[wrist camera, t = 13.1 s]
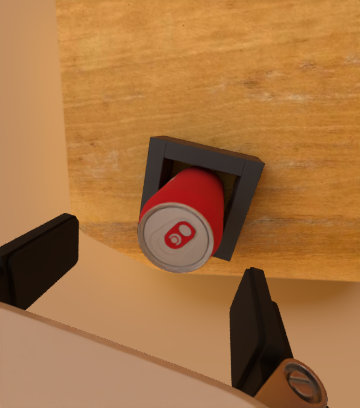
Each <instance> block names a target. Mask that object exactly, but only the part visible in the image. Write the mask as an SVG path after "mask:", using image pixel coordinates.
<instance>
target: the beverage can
mask: <svg viewBox="0 0 360 408" xmlns="http://www.w3.org/2000/svg"><path fill="white" fill-rule="evenodd" d="M223 213H224V186H223V183H222V181H221V179H220V177H219V176H218V175H217V174H216V173H215V172H214V171H212V170H211V169H208V168H204V167H200V166H190V167H187V168H185V169H183V170H182V171H180V172H179V173H178V174H177V175H176V176H175V177H173V178H172V179H171V180H170V181H169V182H168V183H167V184H166V185H165V186H163V187H162V188H161V189H160V190H159V191H158V192H157V193H156V194H154V195H153V196H152V197H151V198H150V199H149V200H148V201H147V202H146V204H145V205H144V207H143V209H142V212H141V214H140V219H139V226H138V233H137V235H138V242H139V245H140V248H141V250H142V252H143V253H144V255H145V256H146V257H147V258H148V260H149V261H151V262H152V263H153V264H154V265H156V266H157V267H159V268H161V269H163V270H165V271H169V272H173V273H188V272H192V271H194V270H197V269H198V268H200V267H202V266H203V265H204V264H205V263H206V262H207V261H208V259H209V258H211V257H212V255H213V254H214V253H215V252H216V250H217V249H218V247H219V245H220V243H221V240H222V234H223Z"/></svg>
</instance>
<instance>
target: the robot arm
mask: <svg viewBox="0 0 360 408" xmlns="http://www.w3.org/2000/svg"><path fill="white" fill-rule="evenodd" d="M78 244H79V221H78V219H77V218H76V216H74V215H71V214H67V213H64V214H62V215H60V216H58V217H56V218H54V219H52V220H50V221H48V222H46V223H44V224H43V225H41V226H39V227H37V228H35V229H33V230H31V231H29V232H27V233H26V234H24V235H22V236H20V237H18V238H16V239H14V240H13V241H11V242H8V243H7V244H5V245H3V246H1V247H0V408H329V407H328V406H327V401H328V398H327V393H326V390H325V388H324V386H323V384H322V382H321V381H320V379H319V378H318V376H317V375H316V374H315V373H314V372H313V371H312V370H311V369H310V368H309V367H308V366H306V365H305V364H304V363H302V362H300V361H298V360H296V359H294V358H293V354H292V352H291V348H290V345H289V341H288V338H287V335H286V332H285V328H284V325H283V322H282V318H281V315H280V312H279V308H278V305H277V304H276V303H275V302H273V301H272V300H271V296H270V293H269V289H268V285H267V282H266V278H265V275H264V271H263V270H261V269H257V268H254V267H251V268H250V269H246V270H245V272H244V275H243V277H242V280H241V282H240V285H239V287H238V290H237V292H236V295H235V297H234V300H233V302H232V305H231V308H230V347H231V381H232V387H231V386H229V385H226V384H224V383H222V382H220V381H217V380H215V379H212V378H210V377H207V376H204V375H202V374H199V373H197V372H194V371H191V370H189V369H186V368H184V367H181V366H178V365H176V364H173V363H170V362H167V361H164V360H162V359H159V358H156V357H154V356H151V355H148V354H146V353H143V352H140V351H137V350H134V349H132V348H129V347H126V346H123V345H120V344H118V343H115V342H112V341H110V340H107V339H104V338H101V337H99V336H96V335H93V334H90V333H87V332H85V331H81V330H79V329H76V328H73V327H70V326H68V325H65V324H62V323H59V322H56V321H54V320H51V319H48V318H45V317H42V316H39V315H36V314H33V313H31V312H28V311H25V310H26V309H27V308H28V307H30V306H31V305H32V304H33V303H34V302H35V301H36V300H37V299H38V298H39V297H41V296H42V295H43V294H44V293H45V292H46V291H47V290H48V289H49V288H50V287H51V286H53V285H54V284H55V283H56V282H57V281H58V280H59V279H60V278H61V277H62V276H63V275H64V274H66V273H67V272H68V271H69V270H70V269H71V268H72V267H73V266H74V265H75V264H76V263H77V261H78Z"/></svg>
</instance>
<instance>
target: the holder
mask: <svg viewBox="0 0 360 408" xmlns="http://www.w3.org/2000/svg"><path fill="white" fill-rule="evenodd" d="M173 160H175V161H180V162H184V163H188V164H192V165H196V166H200V167H204V168H208V169H212V170H216V171H220V172H225V173H229V174H233V175H237V176H236V179H235V182H234V185H233V188H232V192H231V195H230V198H229V201H228V204H227V208H226V211H225V214H224V217H223V234H222V240H221V243H220V245H219V247H218V249H217V250H216V252H215V253H214V254H213V255H212V256H213V257H217V258H220V259H223V260H226V261H230V260H231V257H232V254H233V252H234V249H235V246H236V243H237V240H238V238H239V235H240V232H241V229H242V226H243V224H244V221H245V218H246V215H247V212H248V210H249V207H250V204H251V201H252V198H253V196H254V193H255V190H256V187H257V185H258V182H259V179H260V176H261V173H262V171H263V168H264V165H265V163H263V162H262V161H261V160H260V159H259V158H258V157H255V156H250V155H246V154H242V153H237V152H233V151H228V150H224V149H220V148H215V147H211V146H207V145H202V144H198V143H194V142H189V141H185V140H181V139H176V138H172V137H168V136H156V137H150V144H149V151H148V158H147V165H146V172H145V180H144V187H143V194H142V201H141V208H140V214H141V212H142V209H143V207H144V205H145V204H146V202H147V201H148V200H149V199H150V198H151V197H152V196H153V195H154V194H156V193H157V192H158V191H159V190H160V189H161V188H162V187H163V186H165V185H166V184H167V183H168V182H169V181H170V176H171V170H172V165H173ZM139 219H140V216H139ZM138 226H139V223H138ZM137 233H138V230H137Z"/></svg>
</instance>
